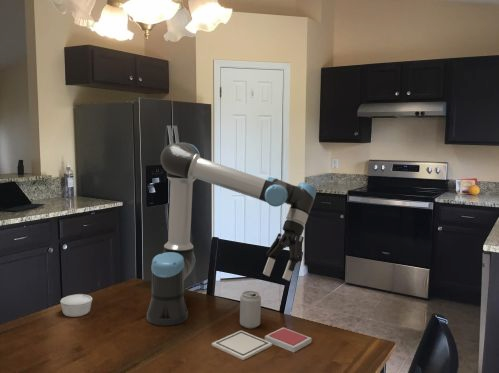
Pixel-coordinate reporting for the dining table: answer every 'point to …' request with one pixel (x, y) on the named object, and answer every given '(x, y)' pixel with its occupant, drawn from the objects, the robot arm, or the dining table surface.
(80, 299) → the ramekin
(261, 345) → the marked board
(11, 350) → the dining table surface
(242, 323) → the can
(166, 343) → the dining table surface
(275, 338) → the ink pad
